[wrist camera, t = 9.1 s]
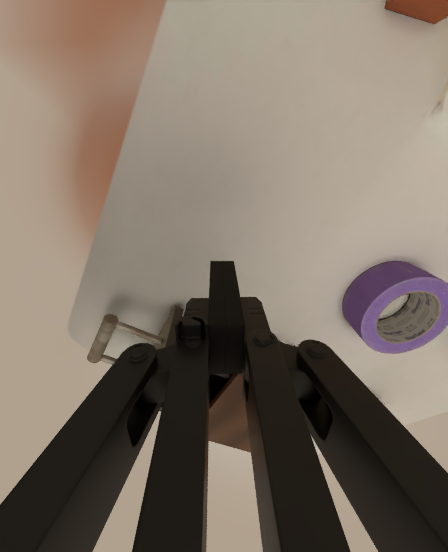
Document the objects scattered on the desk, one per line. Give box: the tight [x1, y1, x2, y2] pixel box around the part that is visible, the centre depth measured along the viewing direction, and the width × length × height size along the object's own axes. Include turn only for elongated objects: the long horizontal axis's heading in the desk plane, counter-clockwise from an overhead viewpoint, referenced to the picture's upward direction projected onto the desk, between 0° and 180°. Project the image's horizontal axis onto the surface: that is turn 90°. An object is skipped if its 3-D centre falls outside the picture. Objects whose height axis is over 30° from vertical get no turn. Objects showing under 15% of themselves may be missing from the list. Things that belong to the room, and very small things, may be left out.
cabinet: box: [208, 368, 251, 452], centre depth 35 cm, size 15×13×10 cm
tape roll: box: [343, 261, 448, 354], centre depth 32 cm, size 12×12×5 cm
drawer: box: [87, 306, 233, 411], centre depth 32 cm, size 21×11×8 cm, turn 60°
